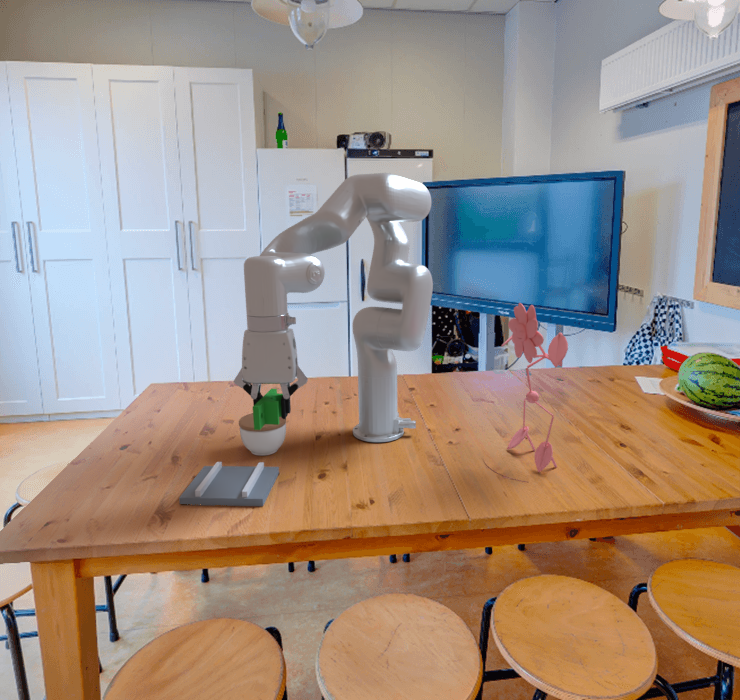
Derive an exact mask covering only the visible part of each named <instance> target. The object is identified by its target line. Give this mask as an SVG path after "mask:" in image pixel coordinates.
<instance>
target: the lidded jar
mask: <svg viewBox="0 0 740 700" xmlns="http://www.w3.org/2000/svg"><path fill="white" fill-rule="evenodd" d="M238 426H239V434H240V438H241V442H242V443H243V446H245V448H246V449H247V450H248V451H250V452H251V454H252V455H254V456H263V457H264V456H270V455H273V454H275V453H276V452H278V450H279V449H280V447H281V446H282V445H283V443H284V441H285V438H286V434H287V418H286V419H283V418H282V417H279V425H273V424H265V425H264V426H263V427H262V428H261V429H260V430H254V420H253V412H252V413H248V414H246V415H244V416H241V417H240V419H239V420H238Z"/></svg>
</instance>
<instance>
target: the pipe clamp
mask: <svg viewBox="0 0 740 700" xmlns="http://www.w3.org/2000/svg"><path fill="white" fill-rule="evenodd" d="M282 395H283V393H278V389H277V388H270V389H269V390H268V391H267V392H266V393H265V394H264V395H262V396H263V397H262V398H261V399H260V400H259V401H258V402H257V403H256V404H255V405H253V406H252V413H253V420H254V430H260V429H261V428H262V427H263V426H264V425H265V424H273V425H279V417H282V415H281V399H282Z"/></svg>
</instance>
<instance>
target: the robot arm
mask: <svg viewBox="0 0 740 700" xmlns="http://www.w3.org/2000/svg"><path fill="white" fill-rule="evenodd" d="M431 209H432V196H431V192H430V191H429V189H428V188H427V187H426V186H425V184H423V183H421V182H420V181H416V180H413V179H410V178H407V177H404V176H401V175H398V174H396V173H394V174H393V173H391V172H377V173H361V174H360V173H359V174H354V175H351V176H348V177H347V178H346V179H344V180H343V181H342V183H341V184H340V185H339V186H338V187H337V188H336V189H335V190H334V191H333V193H332V194H331V195H330V196H329V197H328V198H327V200H326V201H325V202H324V203H323V204H322V205H321V207H320V208H319V209H318V210H317V211H316V212H314V213H313V214H311V215H309V216H308V217H305V218H303V219H302V220H300V221H299V222H297V223H295V224H293V225H291V226H289V227H288V228H286V229H284V230H283V231H282V232H280V233H279V234H278V235H277V236H275V237H274V238H273V239H272V240H271V241H270V242H269V244H268V245H267V246H266V247H265V248H264V249H263V250H262V252H260V254H259V255H258V256H251V257H248V258H246V259H245V261H244V263H243V275H244V276H243V277H244V278H243V280H244V292H245V294H244V295H245V297H244V298H245V309H246V310H245V312H246V313H245V314H246V326H247V329H245V330H244V333H243V339H242V351H241V368H240V370H239V372H238V373H237V375H236V376H235V378H234V380H233V383H234V385H236V386H237V387H239V388H242V389H243V391H245V392H246V393H247V394H248V395H249V396H250V398H251V399H252V401H253V402H252V403H253V406H254V405H255V404H256V403H257V402H258V401H259V400H260V399H261V398H262V397H263V396H264V395H263V394H262V392H261V389H262V385H274V384H275V385H278V384H279V385H280V386H279V387H280V390H281V394H283V395H282V399H281V415H282V418H283V419H286V420H287V417H288V415H289V414H291V412H292V411H291V408H292V407H291V396H292V395H293V394H294V393H295V392H297V390H298V389H300V388H301V387H303V386H304V385H306V384H307V383H308V377H307V376H306V375H305V373H304V371H302V369H301V368H300V367H299V359H298V350H297V343H296V338H295V334H294V333H295V332H294V329H293V328H289V327H290V326H292V325H296V324H297V323H296V322H297V318H296V317H295V316H291V315H290V314H289V312H288V294H290V293H291V294H292V293H293V294H295V293H297V294H301V293H302V294H306V293H311V292H313V291H315V290H317V289H318V288H319V287H320V286H321V285H322V283H323V281H324V279H325V275H326V274H325V267H324V265H323V263H322V261H321V260H320V259H319V258H318V257H316V256H315V255H313V254H315V253H319V252H320V253H321V252H323V251H328V250H330V249H333V248H336V247H338V246H340V245H343V244H345V243H346V242H347V241H349V240H350V238H351V237H352V235H353V234H354V233H355V231H356V230H357V229H358V228H359V226H360V225H361V224H362V222H363V221H364V220H365V219H367V221H368V223H369V226H370V228H371V231H372V235H373V241H374V243H373V250H372V257H371V261H370V267H369V270H368V271H369V272H368V278H367V283H366V288H367V289H366V290H367V294H368V296H369V298H370V299H372V300H373V301H376V302H382V303H388V304H400V305H402V307H401V308H392V307H385V306H384V307H383V306H366V307H364V308H362V309H360V310H358V311H357V313H356V314H355V315H354V318H353V321H352V335H353V340H354V343H355V348H356V357H357V382H358V383H357V385H358V386H357V390H358V423H357V424H356V425H354V427H353V428H352V435H353V436H354V437H355V438H356V439H358V440H360V441H364V442H369V443H386V442H392V441H395V440H398V439H399V438H401V437H403V435H404V432H405V431H404V430H405V429H416V425H417V422H416V421H417V420H411V417H406V418H405V417H401V416H400V413H399V412H398V362H397V359H396V356H395V354H394V352H393V351H401V352H414V351H416V350H418V348H420V346H421V345H422V343H423V341H424V338H425V334H426V329H427V324H428V318H429V314H430V309H431V302H432V296H433V290H434V289H433V287H434V284H433V283H434V281H433V276H432V274H431V273H432V272H431V271H430V270H429V268H427V266H425V265H423V264H419V263H409V262H408V260H409V254H410V241H409V237H408V235H407V233H406V230H404V228H403V226H402V224H401V223H400V222H402V223H403V222H404V223H405V222H406V223H411V222H412V223H413V222H420V221H423V220H424V219H425V218H426V217H428V215H429V213H430V211H431ZM296 378H297V380H296ZM295 380H296V381H295ZM291 383H292V384H291Z"/></svg>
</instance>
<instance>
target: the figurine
mask: <svg viewBox="0 0 740 700" xmlns="http://www.w3.org/2000/svg"><path fill="white" fill-rule="evenodd" d="M513 313H514V317H515V318H514V317H513V318H511V319H509V321H508V324H507V326H508V328H509V330H510V331H511V332H512V335H511V336H510V337H508V338H507V340H505V342H503V343H502V344H501V347H504V346H505V345H506V344H508V343H509V342H510V341H511V342H512V344H514V346H513V347H514V353H515V356H516V358H518V359H520V358H521V357H522V355H523V354H524V357H525V360H526V361H527V362H528V365H527V366H526V368H525V372H526V378H527V384H528V388H529V391H528V392H527V393H526V395H525V398H524V399H523V415H522V416H523V417H522V419H523V420H522V421H523V422H522V423H523V424H522V427H521V428H519V429H518V431H516V432H515V434H514V435H513V436H512V437H511V440H510V441H509V443H508V446H507V447H506V449H507V450H512V449H514V448H516V447H517V446H519V445H520V444H521V443H522V442H523V441H524V440H525V439H526V438H527V441H528V442H529V444H530V446H531V448H532V450H533V452H534V463H535V467H536V469H537V471H538V473H541V472H542V471H544V470H545V468H546V467H547V466H549V464H550V463H551V462H552V464H553V467H554V468H557V467H558V465H557V463H556V460H555V459H554V456H553V453H554V452H553V445H552V443H550V442H549V438H550V434H551V431H552V426H553V422H554V419H555V415H554V414H553V413H551V411H549V410H548V409H547V408H545V407H544V406H543V405H541V404H540V403H539V402H538V401H539V398H540V396H539V394H538V392H537V391H536V390H532V386H531V385H532V383H531V379H530V378H531V377H530V371H529V368H531V367H533V366H535V365H536V364H538V363H540V362H541V361H543V360H544V359H546V360H549V361H550V363H551V364H552V365H553V366H554V367H555V368H557V367H558V366H560V367H562V366H563V361H564V359H565V358H566V355H567V353H568V350H569V343H568V340H567V337H566V336H565V335H563V334H564V333H562V332H558V333H557V335H555V336H554V337H553V338H552V339H551V341H550V342H549V344H548V349H547V352H545V350H544V349H543V347H542V345H543V343H544V336H543V334H542V333H541V332H540V331H538V327H539V323H538V320H537V313H536V308H535V306H534V305H533V304H531V305H529V307H528V309H527V310H526V307H525V306H524V305H523V303H521V302H518V305H516V306H515V307H513ZM537 347H538V348H539V349H540V351H541V354H538V351H537V350H538V349H537ZM536 358H538V359H536ZM533 359H536V360H534V361H533ZM526 401H527V402H528V403H529V404H536V405H537V406H539V408H541V409H542V410H543V411H545V412H546V413H548V414H549V415H550V416H551V419H550V425H549V428H548V431H547V436H546V439H545V441H543V442H541V443H540V444H539V445H538V447H537V448H535V445H534V443H533V441H532V440H531V437H530V435H529V429H530V428H529V426H528V425H527V426H526ZM483 462H484V464H486V462H485V461H484V459H483ZM484 467H485V468H487V469H488V468H489V469H490V470H491V471H493V472H494V473H496V474H498V475H500V476H501V477H503V479H511V480H515V481H518V482H522V483H529V481H525V480H520V479H516V478H512V477H509V476H506V475H503V474H501V473H498V472H497V471H495V470H493V469H492V468H490V467H489V466H488V465H485V466H484Z"/></svg>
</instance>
